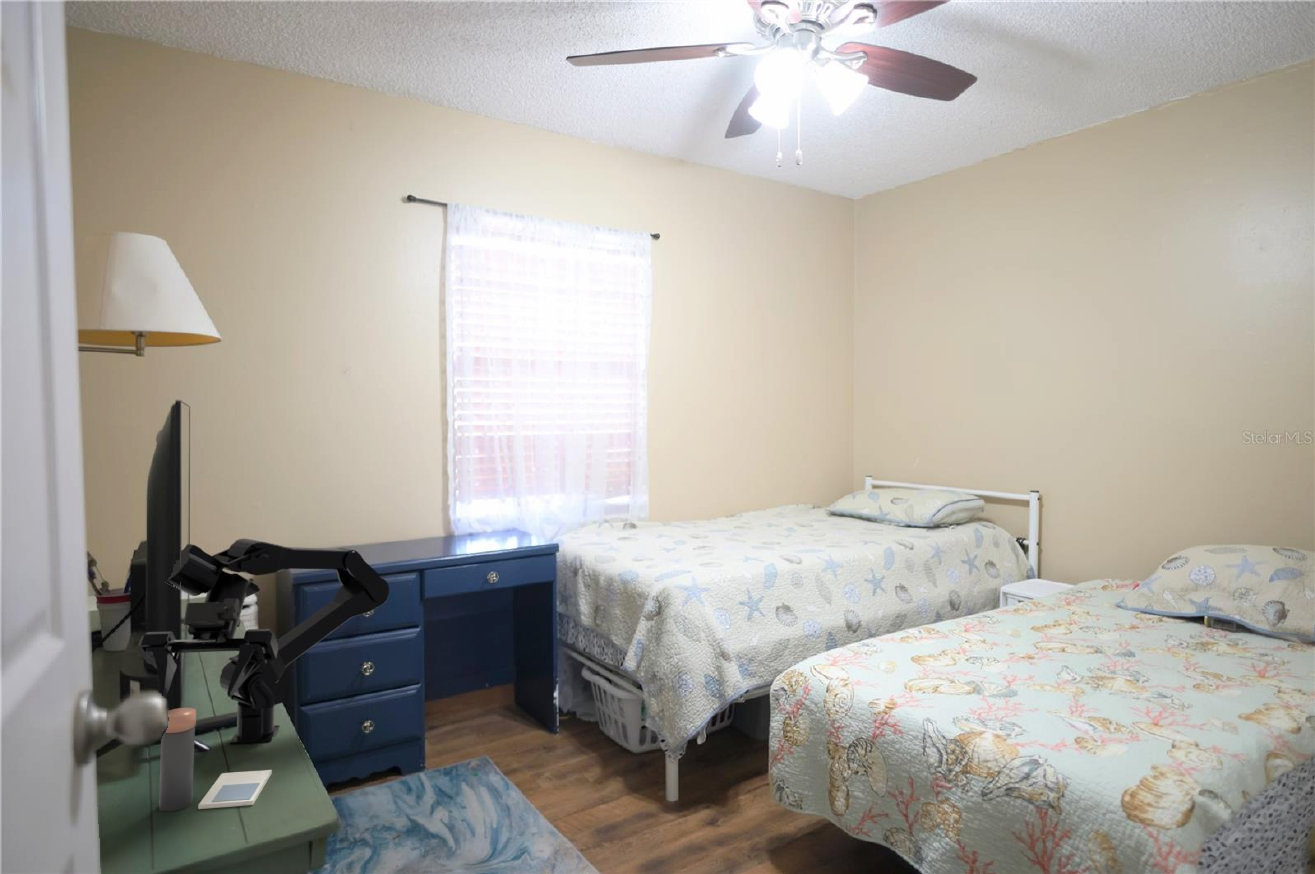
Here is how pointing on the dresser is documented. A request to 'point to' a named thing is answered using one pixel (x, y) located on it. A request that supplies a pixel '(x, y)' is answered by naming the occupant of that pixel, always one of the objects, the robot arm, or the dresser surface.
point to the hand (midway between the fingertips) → (195, 697)
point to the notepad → (235, 789)
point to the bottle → (177, 760)
